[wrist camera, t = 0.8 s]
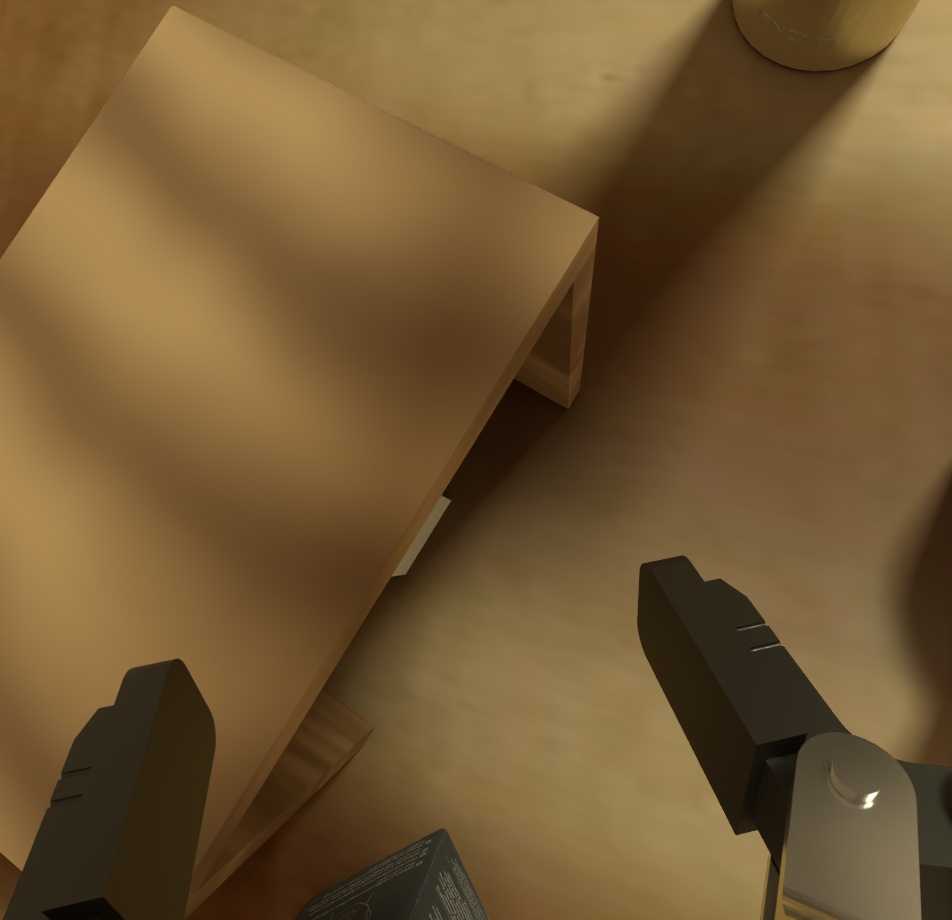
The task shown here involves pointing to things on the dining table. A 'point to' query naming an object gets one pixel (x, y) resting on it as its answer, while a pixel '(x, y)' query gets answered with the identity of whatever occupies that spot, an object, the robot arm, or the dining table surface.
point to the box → (404, 888)
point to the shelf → (247, 406)
